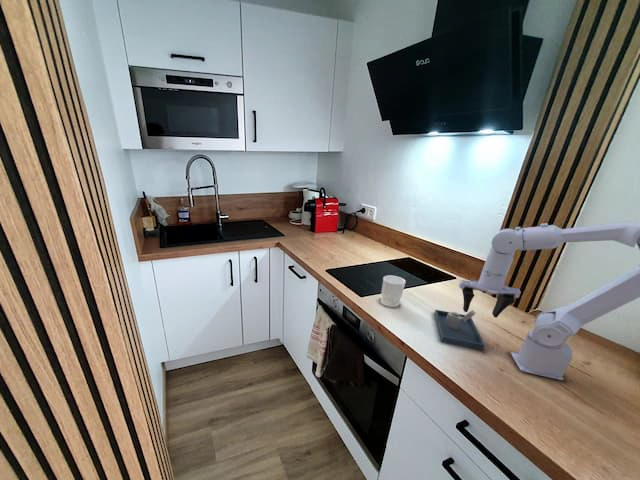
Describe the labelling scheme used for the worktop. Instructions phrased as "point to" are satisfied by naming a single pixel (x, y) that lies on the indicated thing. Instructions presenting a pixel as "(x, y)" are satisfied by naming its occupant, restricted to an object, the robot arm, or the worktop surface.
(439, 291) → the worktop surface
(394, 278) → the white cup
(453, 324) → the lighter
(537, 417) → the worktop surface
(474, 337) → the tray
